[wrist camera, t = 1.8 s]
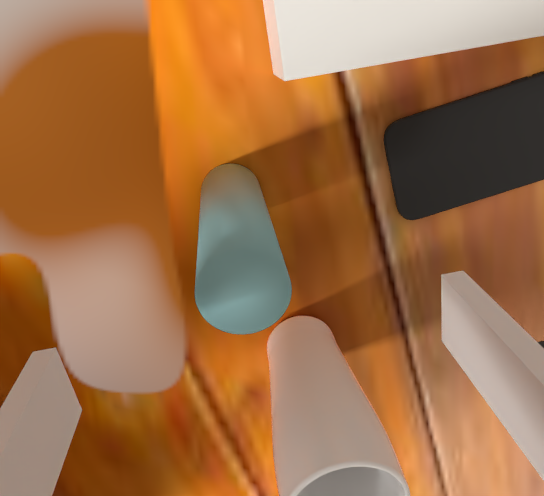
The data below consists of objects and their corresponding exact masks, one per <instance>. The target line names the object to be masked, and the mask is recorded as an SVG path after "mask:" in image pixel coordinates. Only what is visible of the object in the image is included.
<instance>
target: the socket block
mask: <svg viewBox="0 0 544 496" xmlns="http://www.w3.org/2000/svg"><path fill="white" fill-rule="evenodd" d="M263 5H264V12H265V19H266V26H267V33H268V40H269V47H270V54H271V60H272V67H273V74H274V75H276V76H277V77H279V78H280V79H282V80H284V81H288V80H294V79H300V78H305V77H311V76H317V75H322V74H328V73H334V72H339V71H345V70H351V69H357V68H362V67H368V66H374V65H379V64H385V63H391V62H397V61H402V60H408V59H414V58H419V57H425V56H431V55H436V54H442V53H448V52H454V51H459V50H465V49H471V48H476V47H482V46H488V45H493V44H499V43H505V42H511V41H516V40H522V39H528V38H533V37H539V36H544V0H263Z"/></svg>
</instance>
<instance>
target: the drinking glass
mask: <svg viewBox="0 0 544 496" xmlns="http://www.w3.org/2000/svg"><path fill="white" fill-rule="evenodd" d="M267 356H268V361H269V373H270V394H271V419H272V443H273V457H274V467H275V475H276V481H277V487H278V493H279V496H410V491H409V487H408V484H407V482H406V479H405V477H404V474H403V471H402V468H401V466H400V463H399V460H398V458H397V455H396V453H395V450H394V448H393V446H392V443H391V441H390V439H389V437H388V435H387V433H386V431H385V429H384V427H383V425H382V423H381V421H380V419H379V417H378V415H377V413H376V412H375V410H374V408H373V406H372V405H371V403H370V401H369V399H368V398H367V396H366V394H365V392H364V391H363V389H362V387H361V385H360V384H359V382H358V380H357V379H356V377H355V375H354V373H353V372H352V370H351V368H350V366H349V364H348V363H347V361H346V359H345V357H344V356H343V354H342V352H341V350H340V348H339V347H338V345H337V342H336V340H335V338H334V335H333V333H332V331H331V329H330V328H329V327H328V326H327V325H326V324H325V323H324V322H323V321H321V320H320V319H317V318H315V317H311V316H295V317H291V318H288V319H286V320H284V321H283V322H281V323H280V324H278V325H277V326H276V327H275V328H274V330H273V331H272V332H271V334H270V336H269V339H268V342H267Z"/></svg>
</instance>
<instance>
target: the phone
mask: <svg viewBox="0 0 544 496" xmlns="http://www.w3.org/2000/svg"><path fill="white" fill-rule="evenodd" d="M384 145H385V150H386V156H387V161H388V166H389V171H390V176H391V181H392V186H393V191H394V196H395V201H396V206H397V209H398V212H399V213H400V214H401V216H403V217H404V218H405V219H408V220H416V219H420V218H423V217H427V216H430V215H433V214H436V213H439V212H442V211H446V210H449V209H452V208H455V207H458V206H461V205H464V204H468V203H471V202H474V201H477V200H480V199H483V198H487V197H490V196H493V195H496V194H499V193H502V192H506V191H509V190H512V189H515V188H518V187H521V186H524V185H528V184H531V183H534V182H537V181H540V180H543V179H544V71H543V72H540V73H537V74H534V75H532V76H530V77H525V78H521V79H518V80H515V81H512V82H511V83H509V84H506V85H503V86H500V87H497V88H494V89H490V90H487V91H484V92H481V93H478V94H475V95H472V96H469V97H466V98H463V99H460V100H457V101H454V102H451V103H447V104H444V105H441V106H438V107H435V108H432V109H429V110H426V111H423V112H420V113H417V114H414V115H411V116H408V117H405V118H402V119H399V120H396V121H395V122H393V123H392V124H390V125H389V126H388V128H387V129H386V131H385V134H384Z"/></svg>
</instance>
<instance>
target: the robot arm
mask: <svg viewBox="0 0 544 496" xmlns="http://www.w3.org/2000/svg"><path fill="white" fill-rule="evenodd" d="M441 306H442V342H443V343H444V345H445V346H446V347H447V349H448V350H449V351H450V353H451V354H452V356H453V357H454V358H455V360H456V361H457V362H458V364H459V365H460V367H461V368H462V369H463V371H464V372H465V373H466V375H467V376H468V377H469V379H470V380H471V382H472V383H473V384H474V386H475V387H476V388H477V390H478V391H479V393H480V394H481V395H482V397H483V398H484V399H485V401H486V402H487V404H488V405H489V406H490V408H491V409H492V410H493V412H494V413H495V415H496V416H497V417H498V419H499V420H500V421H501V423H502V424H503V426H504V427H505V428H506V430H507V431H508V432H509V434H510V435H511V437H512V438H513V439H514V441H515V442H516V443H517V445H518V446H519V448H520V449H521V450H522V452H523V453H524V454H525V456H526V457H527V458H528V460H529V461H530V463H531V464H532V465H533V467H534V468H535V469H536V471H537V472H538V474H539V475H540V476H541V478H542V479H543V480H544V341H541V342H537V341H536V340H535V339H534V338H532V337H531V336H530V335H529V334H528V333H527V332H526V331H525V330H524V329H523V328H522V327H521V326H520V325H519V324H518V323H517V322H516V321H515V320H514V319H513V318H512V317H511V316H510V315H509V314H508V313H507V312H506V311H505V310H504V309H503V308H501V307H500V306H499V305H498V304H497V303H496V302H495V301H494V300H493V299H492V298H491V297H490V296H489V295H488V294H487V293H486V292H485V291H484V290H483V289H482V288H481V287H480V286H479V285H478V284H477V283H476V282H475V281H474V280H473V279H472V278H471V277H469V276H468V275H467V274H466V273H465V272H464V271H457V272H452V273H447V274H442V275H441ZM81 412H82V408H81V406H80V404H79V401H78V399H77V396H76V394H75V392H74V389H73V387H72V384H71V382H70V380H69V377H68V375H67V373H66V370H65V368H64V365H63V363H62V361H61V358H60V356H59V354H58V351H57V349H56V347H55V348H50V349H45V350H39V351H34V352H32V354H31V356H30V357H29V359H28V361H27V363H26V364H25V366H24V368H23V370H22V371H21V373H20V375H19V377H18V378H17V380H16V382H15V384H14V385H13V387H12V389H11V391H10V392H9V394H8V396H7V398H6V399H5V401H4V403H3V405H2V406H1V408H0V496H52V494H53V491H54V489H55V486H56V483H57V480H58V477H59V475H60V472H61V469H62V466H63V463H64V460H65V458H66V455H67V452H68V449H69V446H70V443H71V441H72V438H73V435H74V432H75V429H76V427H77V424H78V421H79V418H80V415H81Z"/></svg>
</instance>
